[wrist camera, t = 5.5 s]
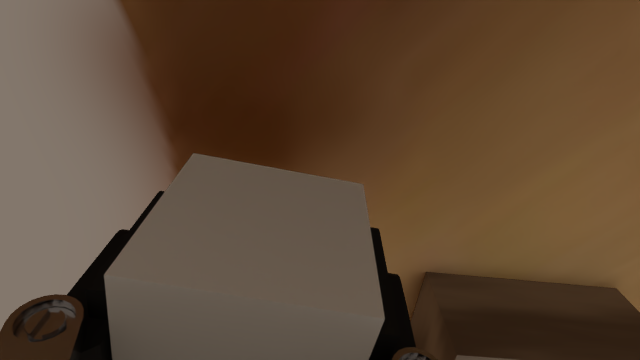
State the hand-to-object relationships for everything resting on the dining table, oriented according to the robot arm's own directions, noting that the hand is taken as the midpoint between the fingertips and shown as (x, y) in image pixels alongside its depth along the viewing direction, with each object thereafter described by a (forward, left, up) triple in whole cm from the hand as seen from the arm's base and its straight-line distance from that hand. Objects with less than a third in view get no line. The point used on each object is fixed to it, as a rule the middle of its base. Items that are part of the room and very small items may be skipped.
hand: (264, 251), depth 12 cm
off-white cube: (0, 0, -1) cm, 1 cm away
